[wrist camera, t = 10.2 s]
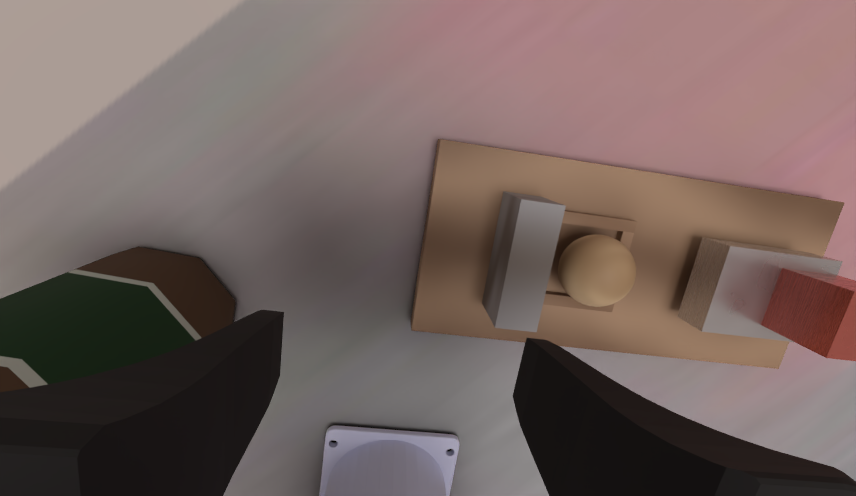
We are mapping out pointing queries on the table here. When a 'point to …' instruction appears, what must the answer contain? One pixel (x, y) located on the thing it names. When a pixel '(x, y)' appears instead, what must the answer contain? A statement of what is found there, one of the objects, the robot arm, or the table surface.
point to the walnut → (597, 270)
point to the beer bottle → (108, 317)
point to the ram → (772, 297)
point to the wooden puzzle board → (580, 216)
